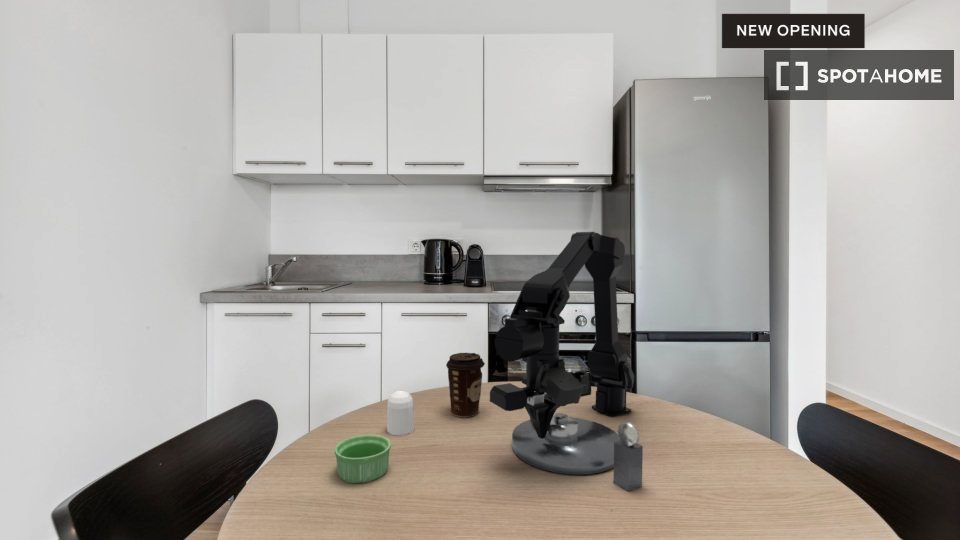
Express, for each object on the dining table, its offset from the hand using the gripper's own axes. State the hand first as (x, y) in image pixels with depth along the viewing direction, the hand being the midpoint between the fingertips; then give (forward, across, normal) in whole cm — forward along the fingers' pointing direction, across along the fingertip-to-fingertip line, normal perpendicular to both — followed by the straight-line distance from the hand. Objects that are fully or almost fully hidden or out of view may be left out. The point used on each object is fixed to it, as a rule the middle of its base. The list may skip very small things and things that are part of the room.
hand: (541, 437), depth 79 cm
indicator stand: (+3, +6, -14) cm, 16 cm away
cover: (+1, +4, 0) cm, 4 cm away
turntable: (+3, +6, 0) cm, 7 cm away
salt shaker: (+4, -18, +23) cm, 30 cm away
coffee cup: (+3, -2, +25) cm, 25 cm away
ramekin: (+4, -29, +10) cm, 31 cm away
